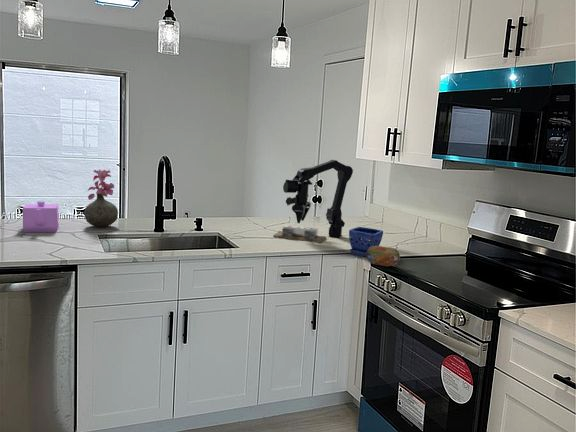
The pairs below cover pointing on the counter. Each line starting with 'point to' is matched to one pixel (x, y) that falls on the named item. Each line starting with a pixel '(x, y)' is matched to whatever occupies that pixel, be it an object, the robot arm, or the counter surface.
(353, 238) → the flower pot
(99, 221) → the vase
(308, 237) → the cradle board
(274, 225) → the counter surface
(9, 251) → the counter surface
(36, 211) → the pink lidded box
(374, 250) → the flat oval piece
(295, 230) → the white bar
